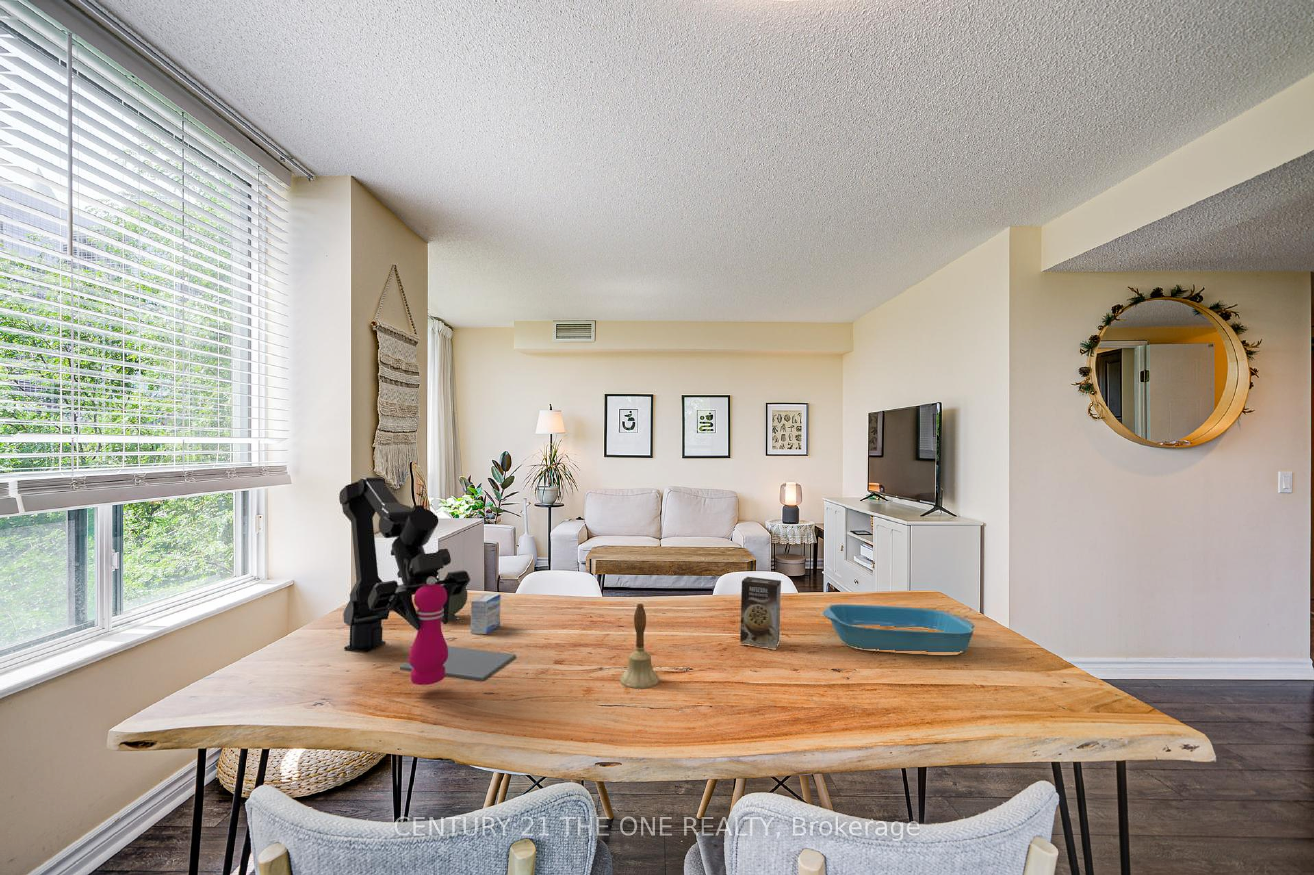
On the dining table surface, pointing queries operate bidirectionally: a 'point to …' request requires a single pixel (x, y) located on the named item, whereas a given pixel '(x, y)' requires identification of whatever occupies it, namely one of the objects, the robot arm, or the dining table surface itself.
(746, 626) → the coffee box
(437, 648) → the magenta pepper mill
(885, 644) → the casserole dish
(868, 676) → the dining table surface
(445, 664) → the place mat
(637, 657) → the hand bell
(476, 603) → the medicine box
